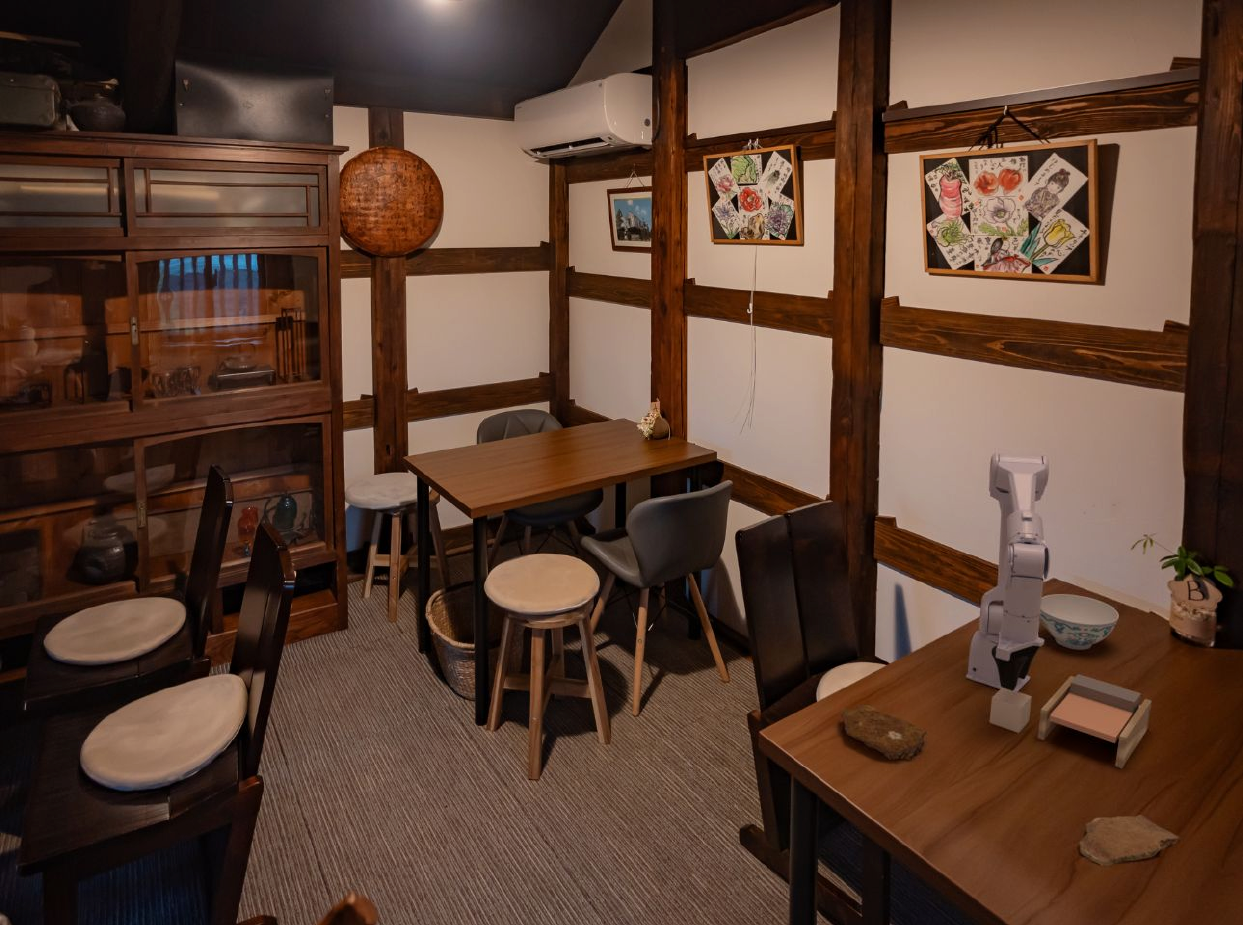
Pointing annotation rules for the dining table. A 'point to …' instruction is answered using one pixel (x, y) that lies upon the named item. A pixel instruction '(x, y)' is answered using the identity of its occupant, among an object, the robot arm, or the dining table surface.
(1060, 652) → the dining table surface
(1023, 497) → the robot arm
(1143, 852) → the pottery shard
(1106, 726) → the trapdoor
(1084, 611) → the chinaware
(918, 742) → the decorative rock
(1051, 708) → the frame
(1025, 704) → the beige cube
